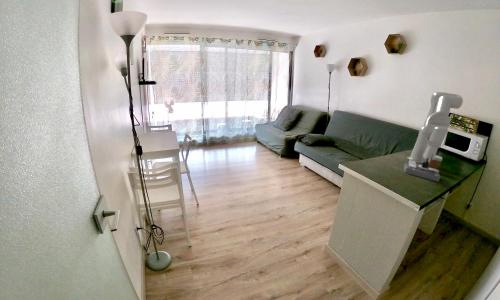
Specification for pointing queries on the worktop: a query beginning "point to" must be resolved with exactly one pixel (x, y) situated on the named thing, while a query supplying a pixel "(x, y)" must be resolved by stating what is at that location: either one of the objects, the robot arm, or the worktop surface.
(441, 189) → the worktop surface
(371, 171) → the worktop surface
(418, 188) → the worktop surface
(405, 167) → the rocker switch panel
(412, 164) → the block
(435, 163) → the disposable coffee cup
